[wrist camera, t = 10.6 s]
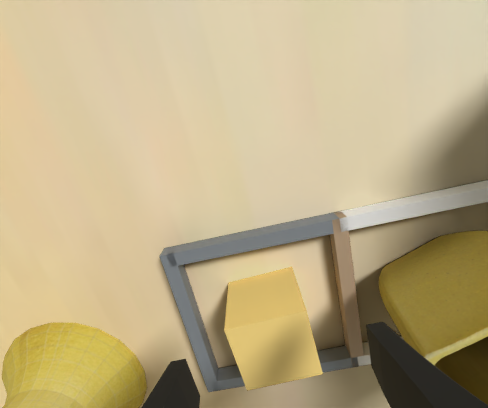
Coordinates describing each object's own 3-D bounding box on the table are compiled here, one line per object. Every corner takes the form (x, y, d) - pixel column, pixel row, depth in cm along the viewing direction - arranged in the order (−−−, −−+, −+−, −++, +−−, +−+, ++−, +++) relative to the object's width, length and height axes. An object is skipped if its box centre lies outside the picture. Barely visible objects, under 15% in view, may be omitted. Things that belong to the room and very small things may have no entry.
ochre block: (291, 266, 20) (306, 310, 16) (305, 318, 22) (322, 374, 17) (228, 282, 21) (224, 330, 16) (246, 332, 22) (247, 390, 17)
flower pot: (344, 260, 20) (419, 365, 12) (456, 197, 19) (636, 263, 10) (394, 338, 22) (488, 475, 14) (498, 287, 21) (676, 404, 12)
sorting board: (518, 173, 18) (537, 177, 17) (506, 327, 22) (520, 338, 21) (164, 248, 20) (159, 256, 19) (210, 378, 24) (208, 392, 22)
